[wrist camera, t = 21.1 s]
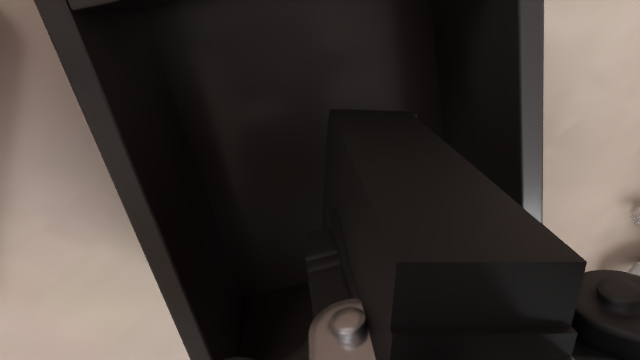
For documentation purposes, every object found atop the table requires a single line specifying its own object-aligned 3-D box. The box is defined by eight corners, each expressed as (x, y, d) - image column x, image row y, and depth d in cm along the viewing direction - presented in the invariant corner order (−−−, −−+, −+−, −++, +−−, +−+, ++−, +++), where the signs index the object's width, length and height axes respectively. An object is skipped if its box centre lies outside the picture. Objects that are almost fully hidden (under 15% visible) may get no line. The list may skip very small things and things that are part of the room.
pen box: (123, -6, 18) (25, -15, 11) (436, -75, 18) (546, -129, 11) (233, 303, 24) (219, 428, 17) (462, 249, 25) (542, 348, 17)
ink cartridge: (389, 258, 14) (510, 553, 6) (319, 258, 13) (359, 563, 6) (409, 107, 12) (614, 274, 4) (328, 105, 12) (402, 274, 4)
